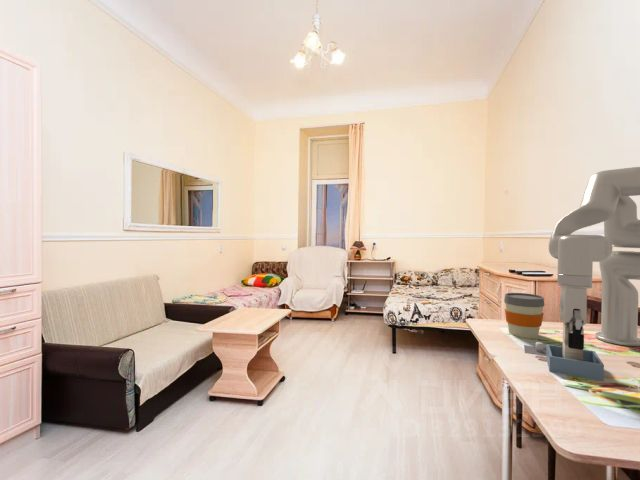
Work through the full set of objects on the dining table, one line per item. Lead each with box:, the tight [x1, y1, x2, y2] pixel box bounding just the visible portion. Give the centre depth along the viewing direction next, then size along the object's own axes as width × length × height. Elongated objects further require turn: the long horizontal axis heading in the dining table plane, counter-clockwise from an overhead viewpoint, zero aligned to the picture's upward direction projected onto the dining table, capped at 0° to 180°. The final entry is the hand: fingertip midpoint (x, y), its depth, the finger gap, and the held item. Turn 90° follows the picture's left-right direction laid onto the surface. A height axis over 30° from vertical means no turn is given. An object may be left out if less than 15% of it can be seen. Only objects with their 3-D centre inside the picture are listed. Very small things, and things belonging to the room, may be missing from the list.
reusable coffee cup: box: [503, 292, 545, 339], centre depth 122 cm, size 13×13×15 cm
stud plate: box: [523, 341, 546, 357], centre depth 104 cm, size 8×8×4 cm
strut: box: [562, 322, 585, 361], centre depth 91 cm, size 4×4×12 cm
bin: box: [545, 343, 605, 382], centre depth 91 cm, size 11×11×5 cm
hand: (572, 343), depth 91 cm, fingers open, 9 cm apart
